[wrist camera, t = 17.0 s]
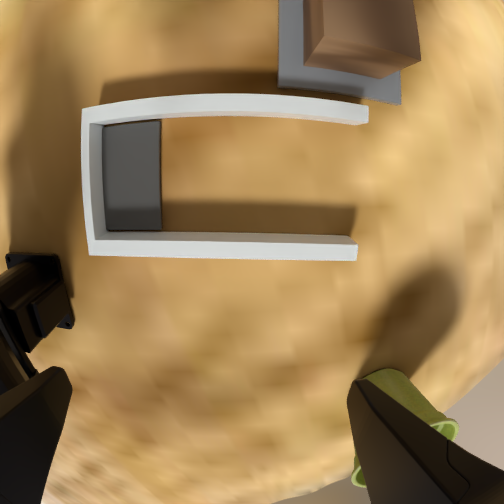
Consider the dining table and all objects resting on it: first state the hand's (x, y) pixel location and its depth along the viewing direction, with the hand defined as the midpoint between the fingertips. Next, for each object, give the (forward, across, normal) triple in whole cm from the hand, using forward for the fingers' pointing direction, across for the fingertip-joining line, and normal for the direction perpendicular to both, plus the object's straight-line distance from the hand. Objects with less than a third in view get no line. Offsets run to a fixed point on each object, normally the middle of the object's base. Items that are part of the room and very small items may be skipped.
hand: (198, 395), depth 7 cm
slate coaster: (+12, -7, -14) cm, 20 cm away
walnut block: (+11, -7, -14) cm, 20 cm away
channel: (+12, 0, -5) cm, 13 cm away
